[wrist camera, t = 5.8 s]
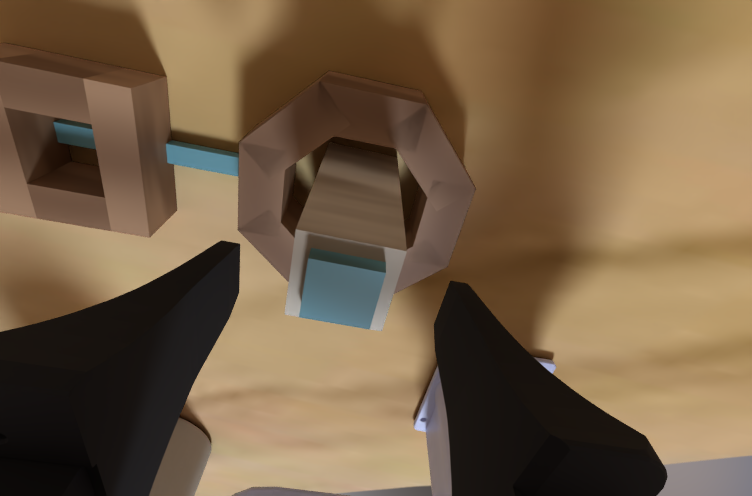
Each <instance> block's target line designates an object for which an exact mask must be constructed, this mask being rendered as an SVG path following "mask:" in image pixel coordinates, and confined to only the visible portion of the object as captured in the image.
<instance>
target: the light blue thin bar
mask: <svg viewBox="0 0 752 496" xmlns="http://www.w3.org/2000/svg"><path fill="white" fill-rule="evenodd" d="M53 123H54V127H55V131H56V135H57V140H58V142H59V143H64V144H69V145H75V146H80V147H85V148H91V149H96V146H95V140H94V135H93V130H92V125H91V124H86V123H81V122H76V121H71V120H65V119H60V120H57V121H55V122H53ZM166 151H167V162H168V163H170V164H175V165H180V166H186V167H191V168H196V169H202V170H207V171H212V172H217V173H223V174H228V175H233V176H239V153H235V152H230V151H225V150H219V149H214V148H209V147H204V146H199V145H194V144H189V143H184V142H178V141H173V140H171V141H169V142H168V143H166Z"/></svg>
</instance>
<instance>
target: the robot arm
mask: <svg viewBox="0 0 752 496" xmlns="http://www.w3.org/2000/svg"><path fill="white" fill-rule="evenodd" d="M239 272H240V244H238V243H232V242H227V241H220V242H218V243H216V244H215V245H213V246H212V247H210V248H208V249H207V250H205V251H204V252H202V253H200V254H199V255H197V256H196V257H194V258H192V259H191V260H189V261H187V262H186V263H184V264H182V265H181V266H179V267H177V268H176V269H174V270H172V271H170V272H168V273H166V274H164V275H163V276H161V277H159V278H157V279H155V280H153V281H151V282H149V283H147V284H145V285H143V286H141V287H139V288H137V289H135V290H133V291H130V292H128V293H126V294H123V295H121V296H118V297H116V298H114V299H111V300H108V301H106V302H103V303H100V304H97V305H94V306H92V307H89V308H86V309H83V310H80V311H78V312H74V313H71V314H68V315H65V316H61V317H58V318H55V319H51V320H47V321H44V322H40V323H36V324H32V325H28V326H24V327H20V328H16V329H11V330H7V331H2V332H0V496H149V494H150V491H151V489H152V486H153V483H154V480H155V478H156V475H157V472H158V470H159V467H160V464H161V462H162V459H163V457H164V454H165V451H166V449H167V446H168V443H169V441H170V438H171V436H172V433H173V431H174V429H175V426H176V424H177V421H178V419H179V416H180V414H181V411H182V409H183V407H184V404H185V402H186V400H187V397H188V395H189V392H190V390H191V388H192V385H193V383H194V381H195V379H196V377H197V375H198V373H199V371H200V370H201V368H202V366H203V364H204V362H205V361H206V359H207V357H208V355H209V354H210V352H211V350H212V348H213V346H214V345H215V343H216V341H217V339H218V337H219V336H220V334H221V332H222V330H223V328H224V326H225V325H226V323H227V321H228V319H229V317H230V315H231V312H232V310H233V307H234V304H235V302H236V299H237V296H238V294H239ZM434 339H435V352H436V358H437V364H438V366H437V368H436V370H435V373H434V375H433V378H432V380H431V382H430V385H429V387H428V390H427V392H426V394H425V397H424V399H423V402H422V404H421V406H420V409H419V411H418V414H417V416H416V418H415V421H414V428H415V429H416V430H418V431H425V432H426V438H427V448H428V458H429V467H430V477H431V486H432V496H656V495H658V493H659V492H660V491H661V490H662V489H663V487H664V485H665V482H666V480H667V472H666V469H665V467H664V465H663V464H662V462H661V460H660V459H659V457H658V455H657V454H656V452H655V451H654V449H653V447H652V446H651V444H650V442H649V441H648V439H647V438H646V436H644V435H643V434H641V433H639V432H638V431H636V430H634V429H633V428H631V427H629V426H628V425H626V424H624V423H622V422H621V421H619V420H617V419H616V418H614V417H612V416H611V415H609V414H607V413H606V412H604V411H603V410H601V409H600V408H598V407H597V406H595V405H594V404H592V403H591V402H589V401H588V400H586V399H585V398H584V397H582V396H581V395H579V394H578V393H577V392H575V391H574V390H572V389H571V388H570V387H569V386H567V385H566V384H565V383H563V382H562V381H561V380H560V379H558V378H557V377H556V376H554V375H553V374H552V373H553V372H554V370H555V368H556V365H555V363H554V362H553V361H552V360H549V359H542V358H536V357H533V356H532V355H530V354H529V353H528V352H527V351H526V350H525V349H524V348H523V347H522V346H521V345H520V344H519V343H518V342H517V341H516V340H515V339H514V337H513V336H512V335H511V334H510V333H509V332H508V331H507V330H506V329H505V328H504V327H503V326H502V324H501V323H500V322H499V321H498V320H497V319H496V317H495V316H494V315H493V314H492V313H491V311H490V310H489V309H488V308H487V307H486V305H485V304H484V303H483V302H482V301H481V299H480V298H479V297H478V296H477V294H476V293H475V292H474V291H473V290H472V288H471V287H470V286H469V285H468V284H466V283H460V282H455V281H450V283H449V286H448V288H447V291H446V294H445V296H444V299H443V302H442V304H441V307H440V310H439V312H438V315H437V318H436V320H435V323H434ZM232 496H348V495H340V494H332V493H324V492H315V491H307V490H299V489H290V488H282V487H251V488H249V489H246V490H243V491H241V492H238V493H235V494H234V495H232Z"/></svg>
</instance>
